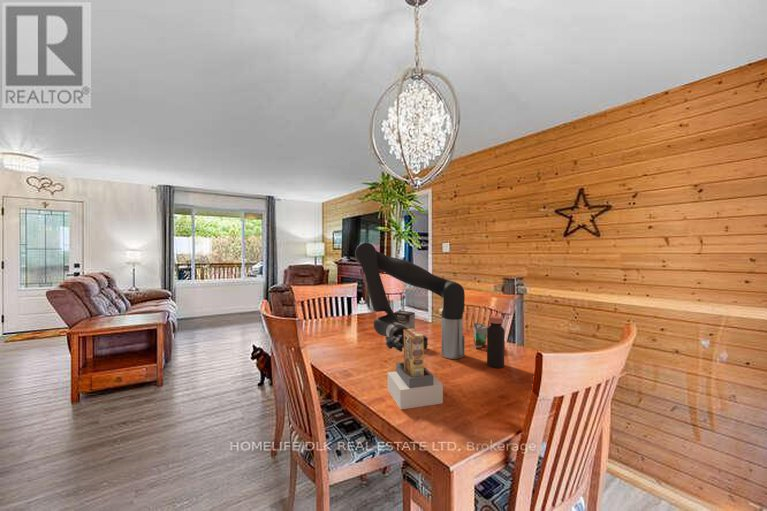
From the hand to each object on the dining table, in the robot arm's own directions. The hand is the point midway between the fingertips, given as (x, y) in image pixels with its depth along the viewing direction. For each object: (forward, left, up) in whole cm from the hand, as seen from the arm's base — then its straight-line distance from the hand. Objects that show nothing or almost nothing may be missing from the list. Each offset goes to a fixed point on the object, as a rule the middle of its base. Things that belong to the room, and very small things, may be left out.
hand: (413, 347), depth 106 cm
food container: (-50, -38, -16) cm, 65 cm away
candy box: (0, +1, -10) cm, 10 cm away
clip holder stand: (0, +1, -16) cm, 16 cm away
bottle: (-42, -15, -16) cm, 47 cm away
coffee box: (-15, -52, -16) cm, 57 cm away
